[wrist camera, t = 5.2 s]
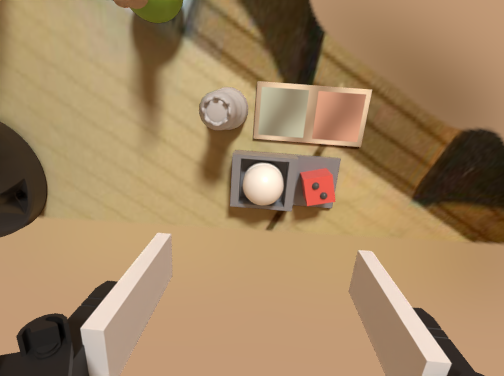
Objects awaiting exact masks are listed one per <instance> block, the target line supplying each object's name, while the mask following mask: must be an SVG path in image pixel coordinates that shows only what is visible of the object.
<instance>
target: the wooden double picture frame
mask: <svg viewBox="0 0 504 376" xmlns="http://www.w3.org/2000/svg"><path fill="white" fill-rule="evenodd" d="M371 92H372V90H368V89H354V88H341V87H327V86H314V85H300V84H287V83H274V82H260V81H258V82H257V96H256V110H255V124H254V137H253V139H266V140H279V141H292V142H304V143H317V144H330V145H342V146H355V147H361V143H362V138H363V133H364V128H365V123H366V118H367V113H368V108H369V103H370V97H371Z"/></svg>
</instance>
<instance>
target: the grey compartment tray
mask: <svg viewBox="0 0 504 376" xmlns="http://www.w3.org/2000/svg"><path fill="white" fill-rule="evenodd" d="M340 160H341V159H340V158H331V157H319V156H306V155H294V154H281V153H268V152H256V151H243V150H235V151H234V153H233V158H232V178H231V198H230V206H234V207H246V208H258V209H270V210H282V211H292V206H293V205H299V206H311V207H323V208H332V205H333V202H335V188H336V183H337V177H338V172H339V166H340ZM257 161H269V162H272V163H273V164H275V165H276V166H277V167H278V168H279V169H280V171H281V174H282V178H283V183H284V187H283V192H282V194H281V196H280V197H279V198H278V200H276V201H275V202H274V203H272V204H269V205H257V204H254V203H253V202H251V201H250V200H249V199H248V198H247V197H246V195H245V193H244V191H243V179H244V176H245V172H246V170H247V169H248V167H249V166H250V165H252V164H253V163H255V162H257Z"/></svg>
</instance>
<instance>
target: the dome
mask: <svg viewBox="0 0 504 376" xmlns="http://www.w3.org/2000/svg"><path fill="white" fill-rule="evenodd" d="M283 187H284V183H283V178H282V174H281V171H280V169H279V168H278V167H277V166H276V165H275V164H273V163H272V162H269V161H257V162H255V163H253V164H252V165H250V166H249V167H248V169H247V170H246V172H245V176H244V179H243V191H244V193H245V195H246V197H247V198H248V199H249V200H250V201H251V202H253V203H254V204H257V205H269V204H272V203H274V202H275V201H276V200H278V198H279V197H280V196H281V194H282V192H283Z"/></svg>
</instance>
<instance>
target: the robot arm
mask: <svg viewBox="0 0 504 376" xmlns="http://www.w3.org/2000/svg"><path fill="white" fill-rule="evenodd" d="M45 200H46V180H45V175H44V172H43V169H42V167H41V164H40V162H39V160H38V158H37V157H36V155H35V153H34V152H33V150H32V149H31V148H30V146H29V145H28V144H27V143H26V142H25V141H24V140H23V139H22V138H21V137H20V136H19V135H18V134H17V133H16V132H15V131H13V130H12V129H11V128H9V127H8V126H6V125H5V124H3V123H1V122H0V237H3V236H6V235H8V234H11V233H14V232H16V231H17V230H19V229H21V228H23V227H25V226H27V225H29V224H30V223H32V222H33V221H34V220H35V219H36V218H37V217H38V216H39V214H40V213H41V211H42V209H43V207H44V204H45ZM171 245H172V244H171V234H166V233H157V234H156V236H155V237H154V238H153V239H152V241H151V242H150V243H149V244H148V245H147V247H146V248H145V249H144V250H143V251H142V253H141V254H140V255H139V257H138V258H137V259H136V260H135V262H134V263H133V264H132V265H131V266H130V268H129V269H128V270H127V271H126V273H125V274H124V275H123V276H122V277H121V279H120V280H119V281H118V282H115V281H106V282H105V283H103V284H101V285H100V286H98V287H97V288H95V290H94V291H93V292H92V293H91V294H90V295H89V296H88V298H87V299H86V300H85V301H84V302H83V303H82V304H81V306H79V307H78V308H77V310H76V311H75V312H74V313H73V314H72V315H71V316H70V317H69V318H68V319H67V317H65V316H64V315H63V314H56V313H55V314H48V315H44V316H42V317H39V318H36V319H34V320H33V321H31V322H29V323H28V324H26V325H25V326H24V327H23V328H22V329H21V330H20V331H19V333H18V335H17V340H18V345H19V349H20V352H17V353H11V354H6V355H0V376H120V374H121V372H122V370H123V368H124V366H125V365H126V362H127V361H128V359H129V357H130V355H131V353H132V351H133V349H134V347H135V346H136V344H137V342H138V340H139V338H140V336H141V334H142V332H143V330H144V328H145V327H146V325H147V323H148V321H149V319H150V317H151V315H152V313H153V311H154V309H155V307H156V306H157V304H158V302H159V300H160V298H161V296H162V294H163V292H164V291H165V289H166V287H167V285H168V282H169V281H170V279H171V277H172V246H171ZM349 293H350V295H351V298H352V300H353V302H354V305H355V307H356V309H357V311H358V314H359V316H360V318H361V321H362V323H363V325H364V327H365V329H366V332H367V334H368V337H369V339H370V341H371V343H372V346H373V348H374V350H375V352H376V355H377V357H378V359H379V361H380V364H381V366H382V368H383V371H384V373H385V375H386V376H484V375H482V374H479V373H477V372H475V371H474V370H473V368H472V367H471V366H470V365H469V363H468V362H467V361H466V360H465V358H464V357H463V356H462V354H461V353H460V352H459V350H458V349H457V348H456V347H455V345H454V344H453V343H452V341H451V340H450V339H448V337H447V335H446V334H445V332H444V331H443V330H441V327H440V326H439V325H438V323H437V322H436V321H435V320H434V318H433V317H432V316H430V315H429V314H428V313H427V312H425V311H424V310H423V309H421V308H412V307H411V305H410V304H409V303H408V301H407V300H406V298H405V297H404V296H403V294H402V293H401V291H400V290H399V289H398V287H397V286H396V284H395V283H394V282H393V280H392V279H391V278H390V276H389V274H388V273H387V272H386V270H385V269H384V267H383V266H382V265H381V263H380V262H379V261H378V259H377V258H376V256H375V255H374V253H373V252H372V251H362V250H358V252H357V257H356V261H355V266H354V270H353V275H352V279H351V284H350V288H349Z"/></svg>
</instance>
